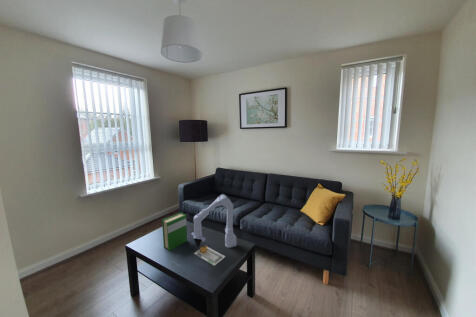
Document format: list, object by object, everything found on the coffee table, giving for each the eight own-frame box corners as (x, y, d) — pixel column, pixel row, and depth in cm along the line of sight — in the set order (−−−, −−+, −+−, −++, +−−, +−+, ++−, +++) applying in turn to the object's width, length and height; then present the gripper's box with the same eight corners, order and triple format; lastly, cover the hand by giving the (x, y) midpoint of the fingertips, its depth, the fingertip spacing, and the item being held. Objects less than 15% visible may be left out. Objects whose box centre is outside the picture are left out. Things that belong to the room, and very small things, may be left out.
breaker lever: (204, 249, 151) (204, 243, 150) (207, 251, 149) (207, 245, 148) (200, 252, 147) (200, 246, 147) (203, 253, 146) (203, 247, 145)
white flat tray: (205, 247, 156) (205, 244, 156) (225, 258, 143) (225, 255, 143) (193, 255, 147) (193, 252, 146) (214, 267, 134) (214, 264, 133)
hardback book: (168, 251, 151) (167, 222, 148) (163, 247, 156) (162, 220, 152) (187, 241, 165) (186, 214, 161) (182, 237, 170) (180, 212, 166)
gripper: (187, 229, 151) (188, 245, 153) (200, 235, 142) (200, 252, 144) (194, 225, 156) (195, 241, 158) (207, 231, 148) (207, 247, 150)
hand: (198, 246), depth 152 cm, fingers closed
